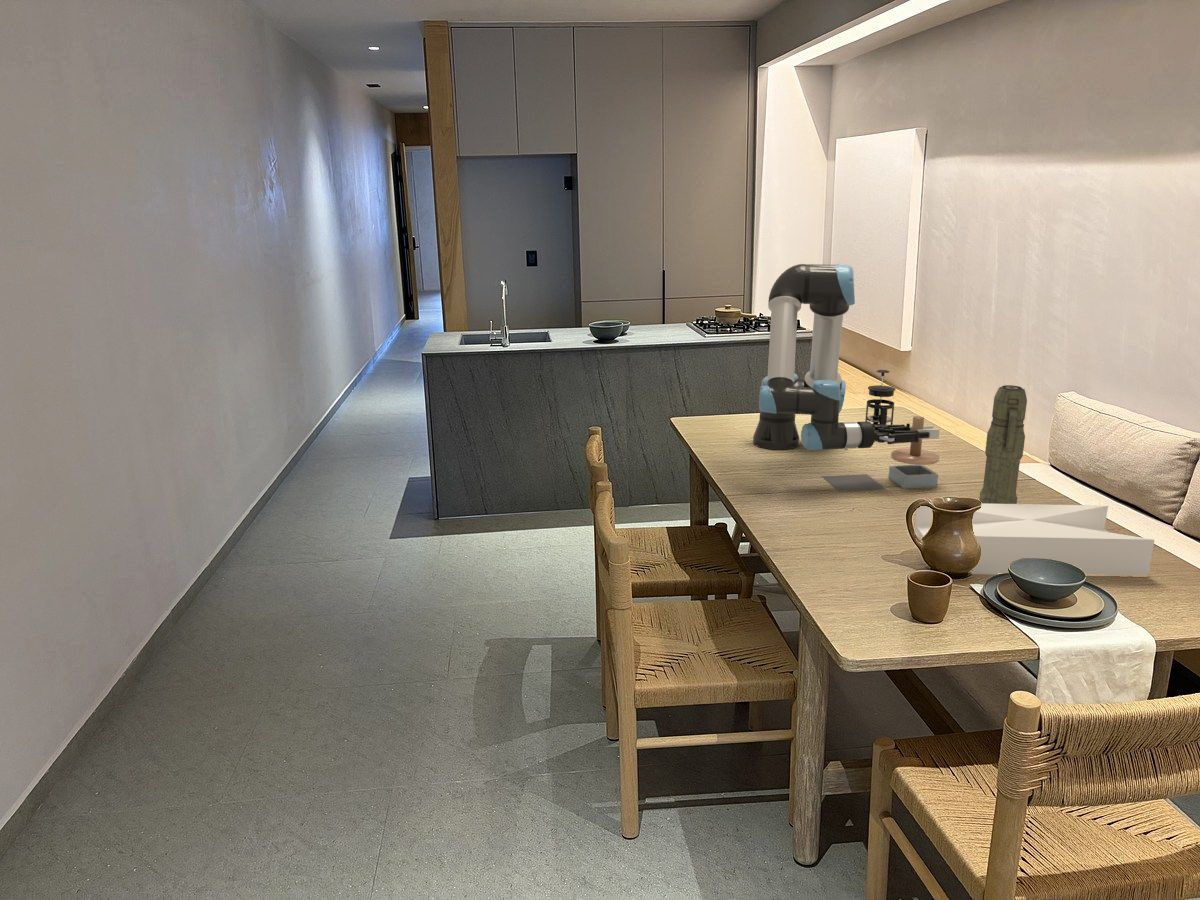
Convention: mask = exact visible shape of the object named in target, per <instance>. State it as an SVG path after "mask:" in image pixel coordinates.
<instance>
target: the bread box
mask: <svg viewBox="0 0 1200 900" xmlns="http://www.w3.org/2000/svg"><path fill="white" fill-rule="evenodd" d="M1108 509H1109V505H1101V504H1097V505H1091V504H1084V505H1083V504H1044V503H1043V504H1041V503H1039V504H1035V503H1034V504H1031V503H1030V504H1028V503H1017V504H985V503H982V506H981V508H980V509H979V510H977V511H976V512H975V513H974V516H973V519H972V525H973V532H974V535H975V537H976V539H977V541H978V543H979V545H980V547H981V557H980V560H979V562H978V564H977V565H976V567H975V568H974V569H973V571H972V573H971V574H970V575H999V574H998V573H1008V565H1009V563H1010V562H1011V561H1014V560H1016V559H1020V558H1047V559H1054V560H1059V561H1063V562H1066V563H1069V564H1072V565H1075V566H1077V567H1079V568H1081V569H1082V570H1083V571H1084V572H1085V573H1086V574H1105V575H1148V576H1149V574H1150V569H1151V568H1150V567H1151V563H1152V556H1153V550H1154V546H1155V539H1152V538H1147V537H1139V536H1133V535H1126V534H1121V533H1115V532H1110V531H1108V530H1107V529H1106V528H1105V527H1106V523H1107V522H1106V521H1107V516H1108ZM931 523H932V510H931V508H930V507H927V506H920V507H919V508H917V507H916V517H915V527H914V532H915V531H916V533H917V535H918V537H919V538H920V539H922V538H923V537H924V535H925V534H926V533H927V532H928V530H929V528H930V526H931Z"/></svg>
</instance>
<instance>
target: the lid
mask: <svg viewBox="0 0 1200 900" xmlns="http://www.w3.org/2000/svg"><path fill="white" fill-rule="evenodd" d="M924 423H925V417H924V416H918V415H916V416H913V417H912V425H911V426H912V431H917V430H918V429H923V426H925V424H924ZM922 444H923V439H919V442H917V443H916V442H910V447H909V448H900V449H898V448H897V449H894V450H892V451H891V455H890V458H892V460H894V461H896V462H898V463H899V462H900V463H903V464H906V465H924V466H927V465H928V466H929V465H934V464H935V465H936V464H937V463H938V462H939V461H940V455H939V454H937V453H936V452H933V451H929V450H926V449H922V446H923V445H922Z"/></svg>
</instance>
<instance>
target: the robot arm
mask: <svg viewBox="0 0 1200 900" xmlns="http://www.w3.org/2000/svg"><path fill="white" fill-rule="evenodd" d="M854 277H855V276H854V268H853V267H852V266H850V265H848V264H839V263H836V264H815V263H814V264H812V263H810V264H809V263H807V264H806V263H798V264H795V265H792V266H790V267H789V268H787V269H785V270H784V271H783V272H782V273H781V274H780V275H779V276H778V277H777V279H775V282H774V283H773V284H772V287H771V288H770V292H769V295H768V302H767V303H768V305H767V308H768V309H769V311H770V312H771V313H770V325H769V326H770V329H769V344H768V347H769V348H768V362H767V363H768V364H767V376H765V377H764V378H762V380H761V382H760V383H761V384H760V387H759V395H758V396H759V398H758V409H759V421H758V423H757V426H756V428H755V431H754V434H753V436H752V437H753V440H752V443H753V445H755V446H756V445H758V446H757V447H759V446H760V447H759V448H762V447H763V449H767V448H768V449H769V450H790V449H795V448H797V447H799V446H800V438H801V443H802V446H803V448H805V449H806V450H808V451H809V450H810V451H817V450H818V451H826V450H828V451H829V450H844V451H849V449H857V448H858V449H870V448H872V447H873V445H874V443H875V442H877V443H881V444H883V443H887V445H893V444H904V443H905V444H906V443H911V442H916V443H917V442H919V439H922V440H934V439H937V440H939V438H940V430H941V429H940V428H934V425H924V426H923V429H918V430H917V431H912V425H911V424H910V423H907V422H906V424H893V425H891V424H886V425H873V422H871V421H868V420H867V421H865V420H864V421H857V422H856V421H844V422H843V421H842V422H841V421H840V422H839V419H840V417H839V415H840V413H841V411H842V410H843V409H842V408H843V406H844V401H845V396H846V388H847V387H846V386H847V385H846V381H845V380H843V379H842V376H841V374H840V373H839V361H840V360H839V359H840V352H841V342H842V331H843V321H844V320H843V319H844V315H845V314H847V312H848V311H849V309H850V306H853V305H855V302H856V299H855V296H856V295H855V283H854V282H855V278H854ZM802 305H809V309H810V312H812V313H813V325H812V326H813V327H812V328H813V329H812V337H811V338H812V339H811V355H810V366H809V367H810V368H809V371H807V372H806V373H805V375H804V378H799V376H798V375H797V373H795V370H796V354H797V353H796V350H797V347H796V345H797V332H798V331H797V330H798V329H797V327H798V312H799V311H800V310H802V309H801V308H802ZM796 415H805V416H806V415H807V416H808V415H809V416H810V422H808V423H805V424H803V426H802V427H801V431H800V434H799V431H798V428H797V425H796ZM799 435H800V436H799Z"/></svg>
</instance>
